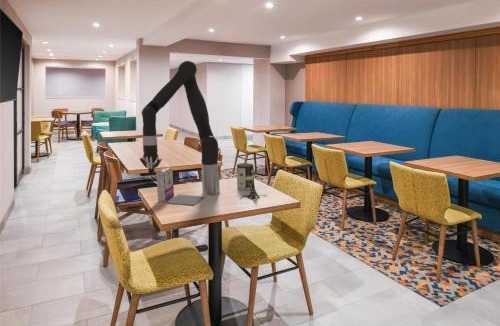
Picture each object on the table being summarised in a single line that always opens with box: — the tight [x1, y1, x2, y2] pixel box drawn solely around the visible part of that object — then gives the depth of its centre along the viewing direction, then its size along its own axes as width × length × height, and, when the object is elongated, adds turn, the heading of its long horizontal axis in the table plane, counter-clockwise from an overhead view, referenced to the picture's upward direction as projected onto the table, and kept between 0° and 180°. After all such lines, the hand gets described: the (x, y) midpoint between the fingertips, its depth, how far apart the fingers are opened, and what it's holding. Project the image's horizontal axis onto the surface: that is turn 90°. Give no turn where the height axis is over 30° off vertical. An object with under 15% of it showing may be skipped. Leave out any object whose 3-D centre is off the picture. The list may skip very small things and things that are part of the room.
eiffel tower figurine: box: [239, 176, 268, 200], centre depth 205 cm, size 15×10×13 cm
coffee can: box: [236, 162, 254, 190], centre depth 227 cm, size 10×10×14 cm
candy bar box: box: [155, 167, 175, 202], centre depth 204 cm, size 11×5×16 cm, turn 168°
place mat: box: [164, 194, 207, 207], centre depth 202 cm, size 17×16×1 cm
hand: (151, 175), depth 205 cm, fingers closed
